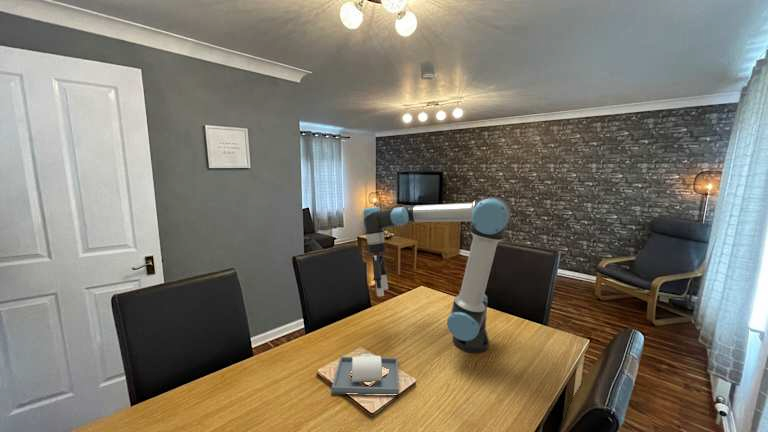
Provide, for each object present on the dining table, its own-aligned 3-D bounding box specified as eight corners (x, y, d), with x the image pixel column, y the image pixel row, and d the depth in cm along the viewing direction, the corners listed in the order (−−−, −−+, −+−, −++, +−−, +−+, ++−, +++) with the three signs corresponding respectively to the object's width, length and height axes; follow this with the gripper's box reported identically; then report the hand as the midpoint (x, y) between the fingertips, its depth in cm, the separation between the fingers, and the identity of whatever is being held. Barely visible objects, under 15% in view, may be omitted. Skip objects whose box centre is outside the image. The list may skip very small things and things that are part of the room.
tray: (397, 364, 115) (397, 358, 115) (398, 396, 99) (398, 389, 98) (340, 362, 116) (340, 356, 116) (331, 394, 99) (331, 387, 99)
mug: (381, 386, 102) (382, 364, 101) (352, 388, 101) (352, 366, 100) (379, 364, 114) (379, 344, 112) (352, 365, 113) (352, 345, 112)
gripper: (372, 243, 143) (379, 288, 141) (361, 245, 118) (369, 300, 117) (388, 241, 142) (394, 286, 140) (380, 243, 117) (388, 298, 116)
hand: (383, 292), depth 128 cm, fingers open, 13 cm apart
